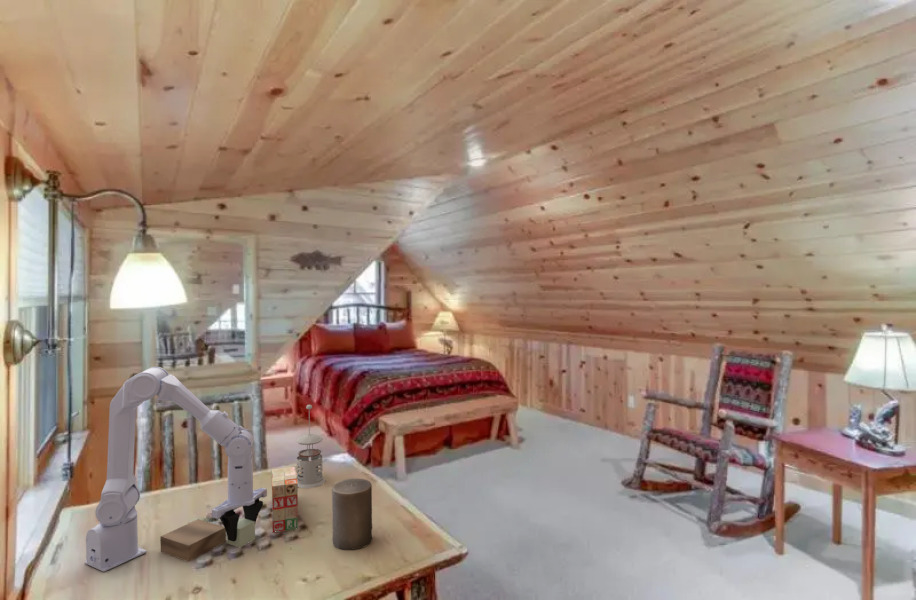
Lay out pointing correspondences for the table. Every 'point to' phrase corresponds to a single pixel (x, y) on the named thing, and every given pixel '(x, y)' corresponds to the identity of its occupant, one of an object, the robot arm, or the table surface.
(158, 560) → the table surface
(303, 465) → the french press
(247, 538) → the sage cube
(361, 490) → the pillar candle
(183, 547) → the walnut block
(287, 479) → the stack of blocks
